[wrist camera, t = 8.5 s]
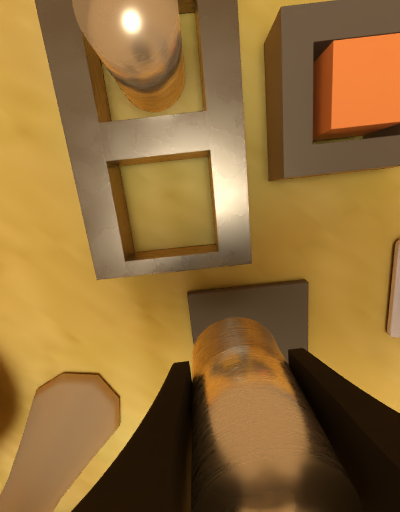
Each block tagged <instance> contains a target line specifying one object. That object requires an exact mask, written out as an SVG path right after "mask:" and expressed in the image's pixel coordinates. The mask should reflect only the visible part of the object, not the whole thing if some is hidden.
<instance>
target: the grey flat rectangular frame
mask: <svg viewBox="0 0 400 512" xmlns="http://www.w3.org/2000/svg"><path fill="white" fill-rule="evenodd" d="M35 4H36V9H37V13H38V18H39V22H40V27H41V31H42V36H43V40H44V45H45V49H46V53H47V58H48V62H49V67H50V71H51V76H52V80H53V85H54V89H55V94H56V98H57V103H58V107H59V112H60V116H61V121H62V125H63V130H64V134H65V139H66V143H67V148H68V152H69V157H70V161H71V165H72V170H73V174H74V179H75V183H76V188H77V192H78V197H79V201H80V206H81V210H82V215H83V219H84V224H85V228H86V233H87V237H88V242H89V246H90V251H91V255H92V260H93V264H94V269H95V273H96V278H97V280H100V279H110V278H119V277H129V276H138V275H148V274H157V273H167V272H176V271H185V270H195V269H204V268H214V267H223V266H233V265H242V264H252V260H251V241H250V223H249V205H248V187H247V168H246V150H245V132H244V114H243V95H242V77H241V59H240V41H239V22H238V4H237V0H178V11H179V14H180V13H189V12H195V17H196V28H197V39H198V50H199V61H200V72H201V83H202V94H203V105H204V111H200V112H191V113H182V114H173V115H164V116H155V117H146V118H137V119H129V120H120V121H111V116H110V110H109V105H108V99H107V93H106V88H105V82H104V77H103V71H102V65H101V60H100V57H99V56H98V55H97V53H96V52H95V50H94V49H93V47H92V46H91V45H90V43H89V42H88V40H87V39H86V37H85V36H84V34H83V33H82V31H81V29H80V27H79V25H78V22H77V20H76V17H75V13H74V9H73V4H72V0H35ZM199 157H208V160H209V171H210V182H211V193H212V204H213V215H214V226H215V237H216V244H210V245H201V246H192V247H182V248H173V249H163V250H154V251H145V252H134V246H133V240H132V235H131V229H130V223H129V218H128V212H127V206H126V201H125V195H124V189H123V184H122V178H121V172H120V167H119V166H126V165H135V164H145V163H154V162H163V161H172V160H181V159H190V158H199Z"/></svg>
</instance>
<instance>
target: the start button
mask: <svg viewBox="0 0 400 512" xmlns="http://www.w3.org/2000/svg"><path fill="white" fill-rule="evenodd" d="M399 123H400V33H396V34H387V35H379V36H370V37H361V38H352V39H344V40H335V41H333V42H332V43H331V44H330V45H329V46H328V47H327V49H326V50H325V51H324V52H323V53H322V54H321V55H320V56H319V58H318V59H317V60H316V61H315V62H314V63H313V141H317V140H326V139H335V138H344V137H353V136H362V135H368V134H370V133H373V132H376V131H379V130H382V129H385V128H387V127H390V126H393V125H396V124H399Z"/></svg>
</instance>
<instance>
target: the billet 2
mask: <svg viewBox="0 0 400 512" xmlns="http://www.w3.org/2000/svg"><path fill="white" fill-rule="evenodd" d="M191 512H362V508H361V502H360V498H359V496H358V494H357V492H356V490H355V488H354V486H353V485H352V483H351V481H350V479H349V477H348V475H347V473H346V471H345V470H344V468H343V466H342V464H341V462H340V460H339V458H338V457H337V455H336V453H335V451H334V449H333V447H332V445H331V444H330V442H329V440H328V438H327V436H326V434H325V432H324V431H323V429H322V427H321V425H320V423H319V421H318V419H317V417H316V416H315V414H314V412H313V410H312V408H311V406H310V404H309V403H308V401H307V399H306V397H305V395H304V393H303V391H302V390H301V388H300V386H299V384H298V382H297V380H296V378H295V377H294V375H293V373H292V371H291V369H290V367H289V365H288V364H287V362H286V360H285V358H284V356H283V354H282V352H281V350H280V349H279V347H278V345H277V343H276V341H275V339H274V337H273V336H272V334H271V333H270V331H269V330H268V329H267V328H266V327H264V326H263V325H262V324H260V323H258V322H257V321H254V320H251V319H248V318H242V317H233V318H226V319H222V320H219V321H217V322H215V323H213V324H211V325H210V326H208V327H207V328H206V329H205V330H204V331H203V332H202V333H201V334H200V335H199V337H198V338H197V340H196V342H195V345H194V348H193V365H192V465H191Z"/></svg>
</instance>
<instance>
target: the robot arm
mask: <svg viewBox="0 0 400 512" xmlns="http://www.w3.org/2000/svg"><path fill="white" fill-rule="evenodd" d="M387 333H388V334H389V335H390V336H391V337H393V338H398V337H400V239H399V240H398V241H397V242H396V245H395V253H394V263H393V274H392V284H391V295H390V305H389V315H388V326H387ZM288 364H289V367H290V369H291V371H292V373H293V375H294V377H295V378H296V380H297V382H298V384H299V386H300V388H301V390H302V391H303V393H304V395H305V397H306V399H307V401H308V403H309V404H310V406H311V408H312V410H313V412H314V414H315V416H316V417H317V419H318V421H319V423H320V425H321V427H322V429H323V431H324V432H325V434H326V436H327V438H328V440H329V442H330V444H331V445H332V447H333V449H334V451H335V453H336V455H337V457H338V458H339V460H340V462H341V464H342V466H343V468H344V470H345V471H346V473H347V475H348V477H349V479H350V481H351V483H352V485H353V486H354V488H355V490H356V492H357V494H358V496H359V498H360V502H361V508H362V512H400V413H398V412H396V411H395V410H393V409H391V408H390V407H388V406H386V405H385V404H383V403H381V402H380V401H378V400H377V399H375V398H374V397H372V396H370V395H369V394H367V393H366V392H364V391H363V390H361V389H360V388H358V387H357V386H355V385H354V384H352V383H351V382H349V381H348V380H346V379H345V378H344V377H342V376H341V375H339V374H338V373H337V372H335V371H334V370H332V369H331V368H330V367H328V366H327V365H326V364H324V363H323V362H322V361H320V360H319V359H317V358H316V357H315V356H313V355H312V354H311V353H309V352H308V351H307V350H305V349H304V348H297V349H288ZM191 465H192V378H191V372H190V365H189V361H186V362H178V363H174V364H173V365H172V367H171V369H170V371H169V373H168V376H167V378H166V380H165V382H164V384H163V386H162V388H161V390H160V391H159V393H158V395H157V397H156V399H155V400H154V402H153V404H152V406H151V407H150V409H149V411H148V412H147V414H146V416H145V417H144V419H143V420H142V422H141V424H140V425H139V427H138V428H137V430H136V431H135V433H134V434H133V436H132V437H131V439H130V440H129V442H128V443H127V444H126V446H125V447H124V448H123V450H122V451H121V453H120V454H119V455H118V457H117V458H116V459H115V460H114V462H113V463H112V464H111V466H110V467H109V468H108V469H107V471H106V472H105V473H104V474H103V476H102V477H101V478H100V479H99V481H98V482H97V483H96V484H95V485H94V487H93V488H92V489H91V490H90V491H89V492H88V494H87V495H86V496H85V497H84V498H83V499H82V500H81V501H80V502H79V503H78V505H77V506H76V507H75V508H74V509H73V510H72V511H71V512H191Z"/></svg>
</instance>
